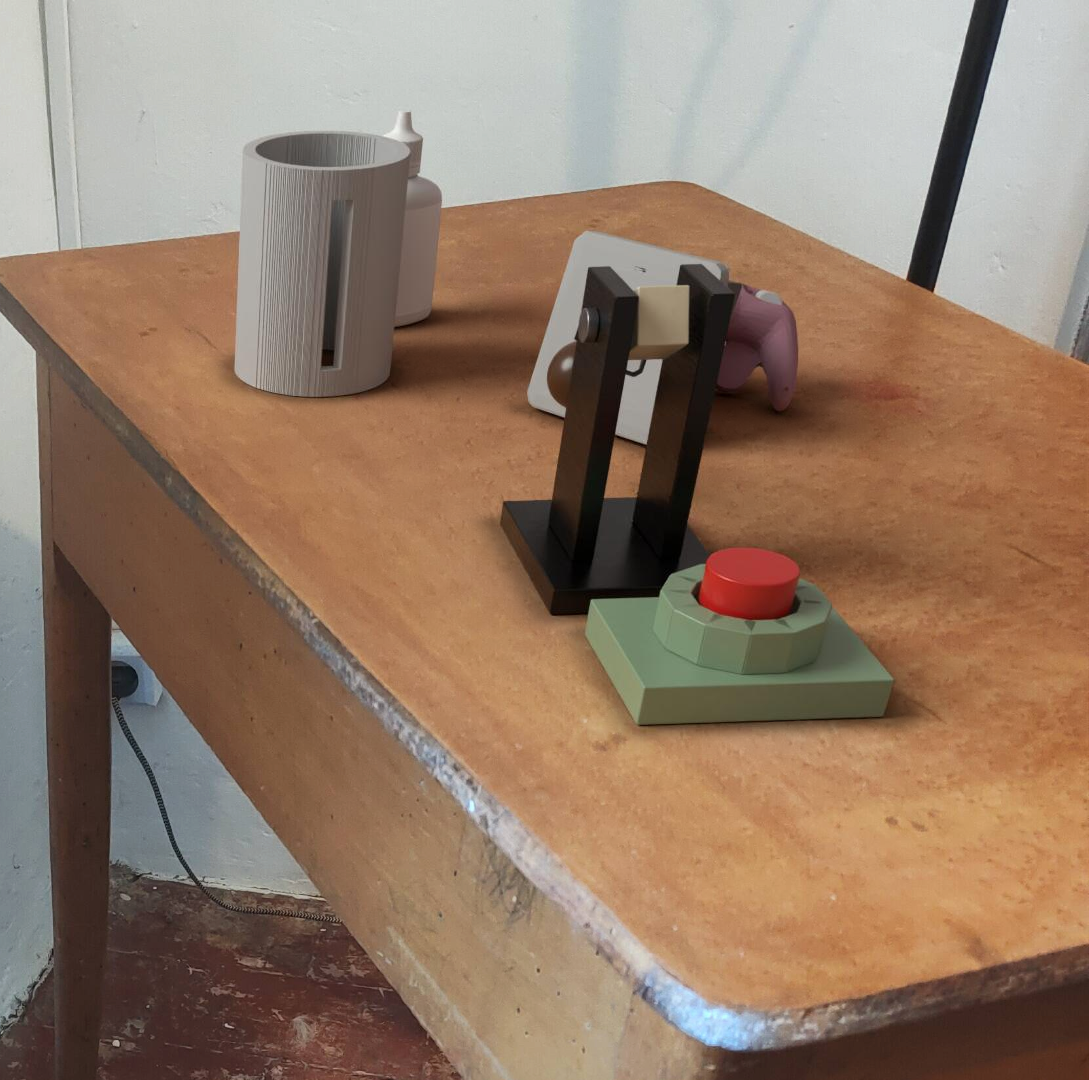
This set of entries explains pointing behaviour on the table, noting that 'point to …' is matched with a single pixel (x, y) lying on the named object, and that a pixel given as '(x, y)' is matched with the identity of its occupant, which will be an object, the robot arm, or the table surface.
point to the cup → (319, 260)
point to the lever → (636, 334)
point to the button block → (733, 659)
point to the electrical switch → (637, 270)
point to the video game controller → (761, 345)
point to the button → (749, 584)
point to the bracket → (586, 447)
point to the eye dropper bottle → (416, 231)
